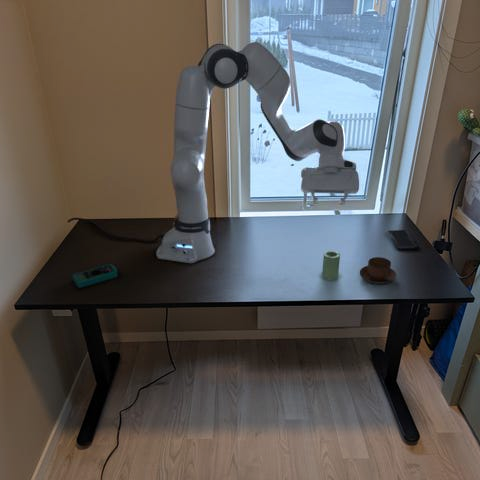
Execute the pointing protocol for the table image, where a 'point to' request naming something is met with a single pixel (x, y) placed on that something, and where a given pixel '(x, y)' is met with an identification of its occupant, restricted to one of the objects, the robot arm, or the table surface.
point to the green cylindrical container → (330, 265)
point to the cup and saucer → (378, 271)
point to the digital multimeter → (95, 275)
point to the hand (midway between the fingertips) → (328, 203)
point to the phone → (401, 239)
